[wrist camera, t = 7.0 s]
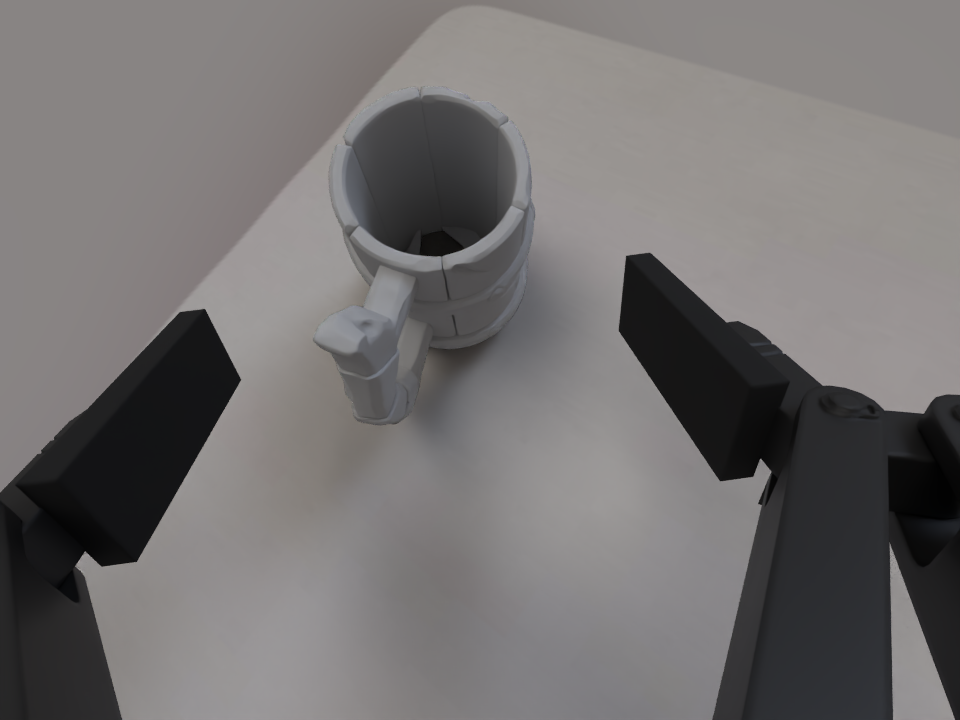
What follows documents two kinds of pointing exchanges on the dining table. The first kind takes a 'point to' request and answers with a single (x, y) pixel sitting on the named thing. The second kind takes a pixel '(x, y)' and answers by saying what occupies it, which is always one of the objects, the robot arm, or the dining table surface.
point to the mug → (413, 214)
